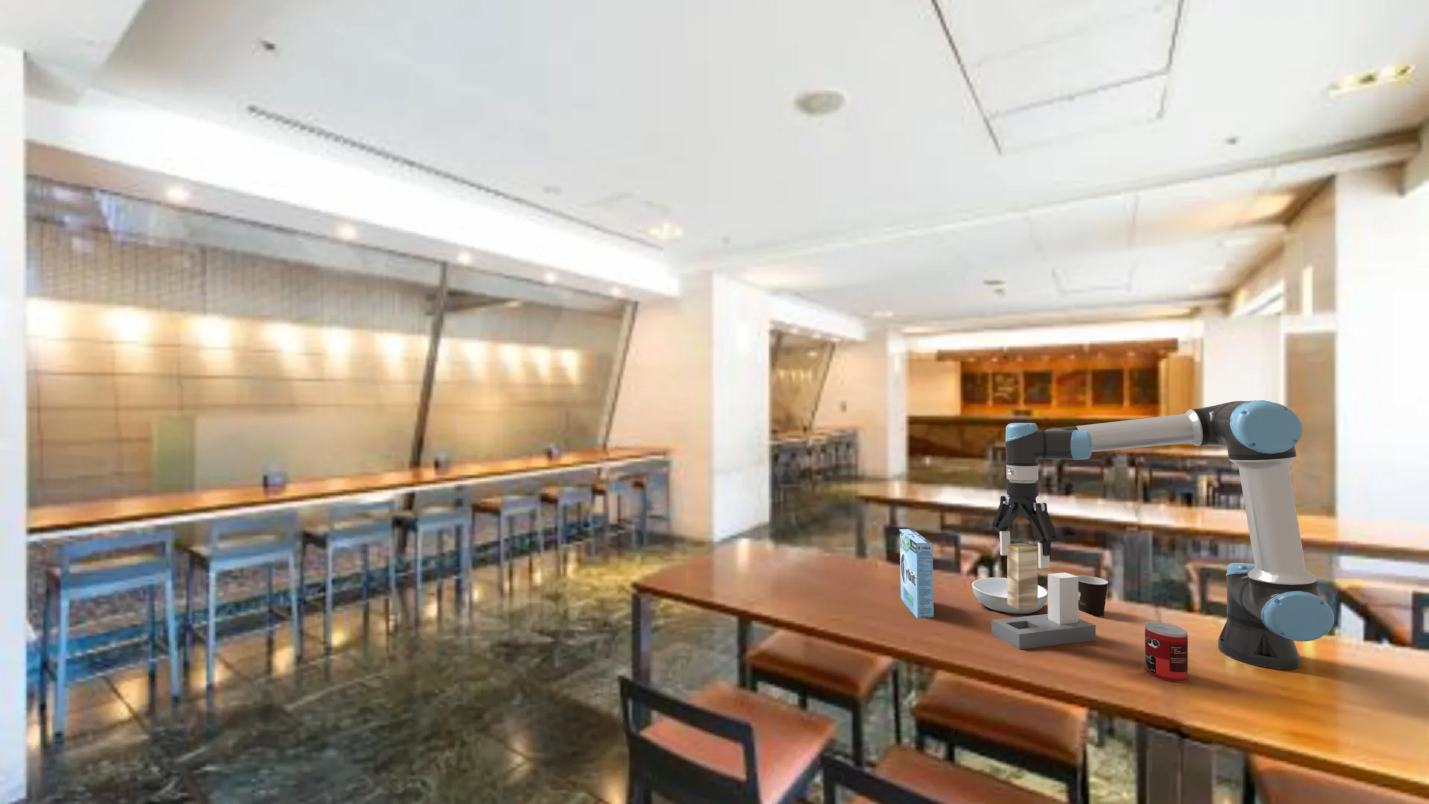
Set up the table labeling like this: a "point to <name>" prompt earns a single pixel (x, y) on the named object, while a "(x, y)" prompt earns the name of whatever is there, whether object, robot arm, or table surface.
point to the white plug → (1063, 598)
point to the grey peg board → (1041, 631)
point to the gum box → (916, 573)
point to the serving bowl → (1002, 595)
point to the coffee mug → (1092, 595)
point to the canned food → (1166, 651)
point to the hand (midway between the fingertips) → (1023, 561)
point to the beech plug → (1022, 575)
